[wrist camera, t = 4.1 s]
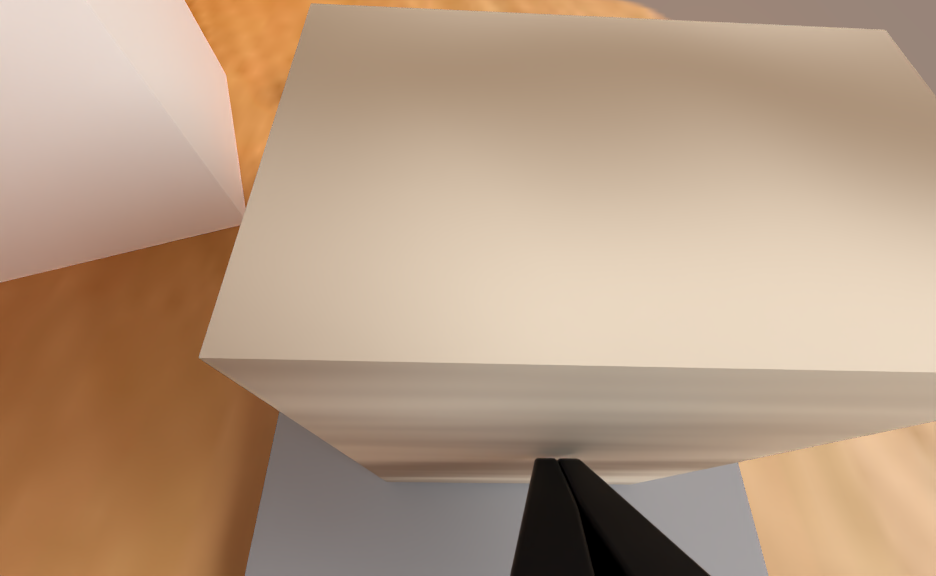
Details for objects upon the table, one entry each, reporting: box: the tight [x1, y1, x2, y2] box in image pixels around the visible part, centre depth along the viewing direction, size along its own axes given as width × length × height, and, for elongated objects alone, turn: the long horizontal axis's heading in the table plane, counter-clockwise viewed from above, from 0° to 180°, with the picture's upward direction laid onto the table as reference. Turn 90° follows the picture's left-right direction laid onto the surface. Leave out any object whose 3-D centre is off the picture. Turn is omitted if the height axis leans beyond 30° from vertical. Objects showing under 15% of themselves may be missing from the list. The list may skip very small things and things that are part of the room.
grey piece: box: [245, 411, 768, 576], centre depth 16 cm, size 26×16×6 cm, turn 0°
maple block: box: [199, 4, 936, 485], centre depth 10 cm, size 5×8×12 cm, turn 90°
